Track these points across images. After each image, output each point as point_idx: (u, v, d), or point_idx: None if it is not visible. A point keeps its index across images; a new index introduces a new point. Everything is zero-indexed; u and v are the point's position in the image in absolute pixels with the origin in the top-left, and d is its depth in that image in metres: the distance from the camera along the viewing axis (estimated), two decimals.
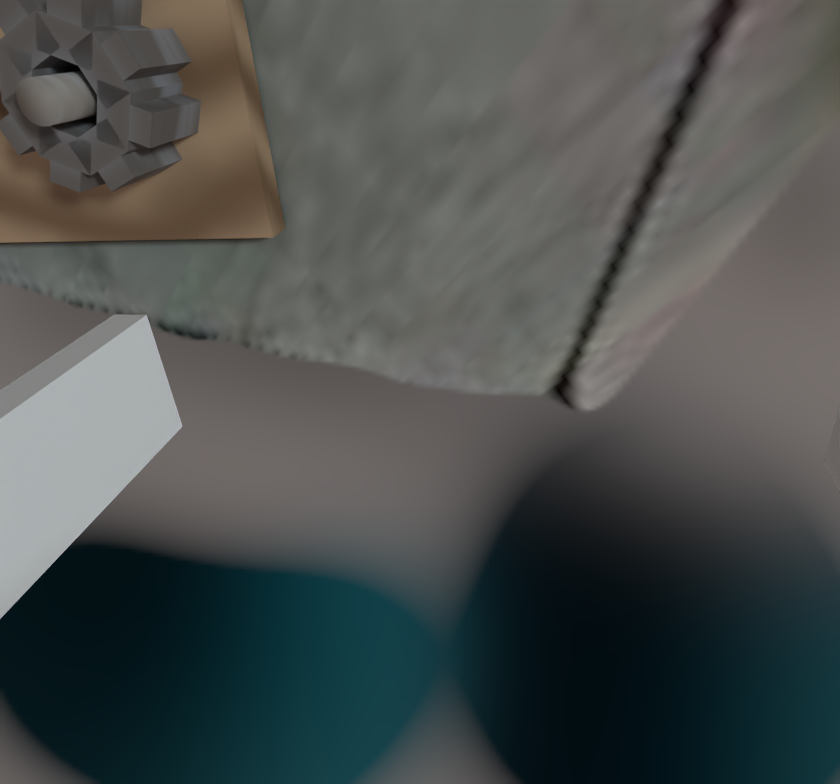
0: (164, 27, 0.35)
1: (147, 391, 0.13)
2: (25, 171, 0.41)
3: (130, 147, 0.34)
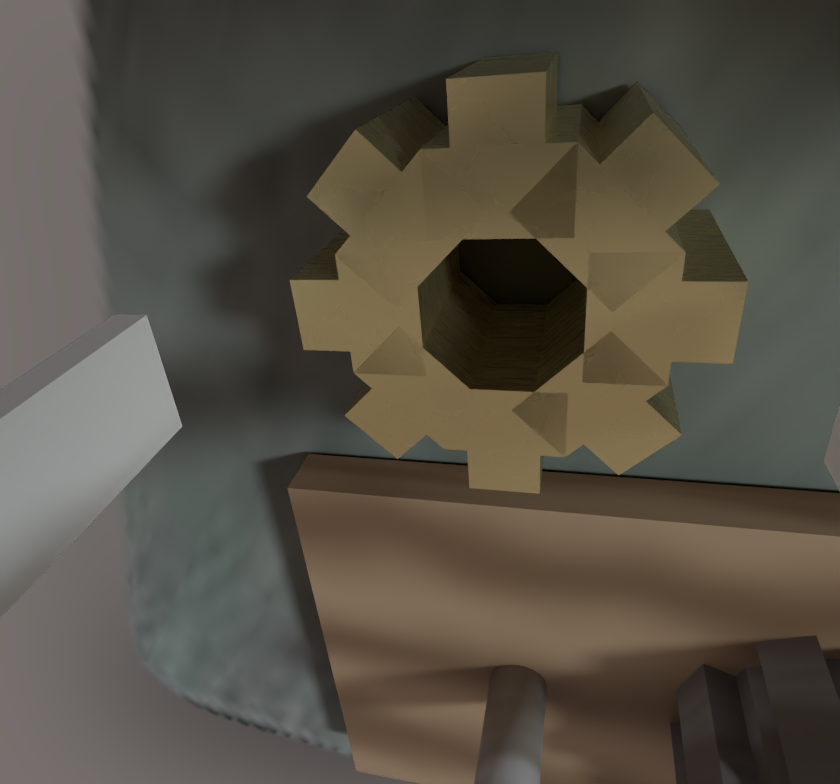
0: None
1: (147, 391, 0.13)
2: (560, 753, 0.27)
3: None
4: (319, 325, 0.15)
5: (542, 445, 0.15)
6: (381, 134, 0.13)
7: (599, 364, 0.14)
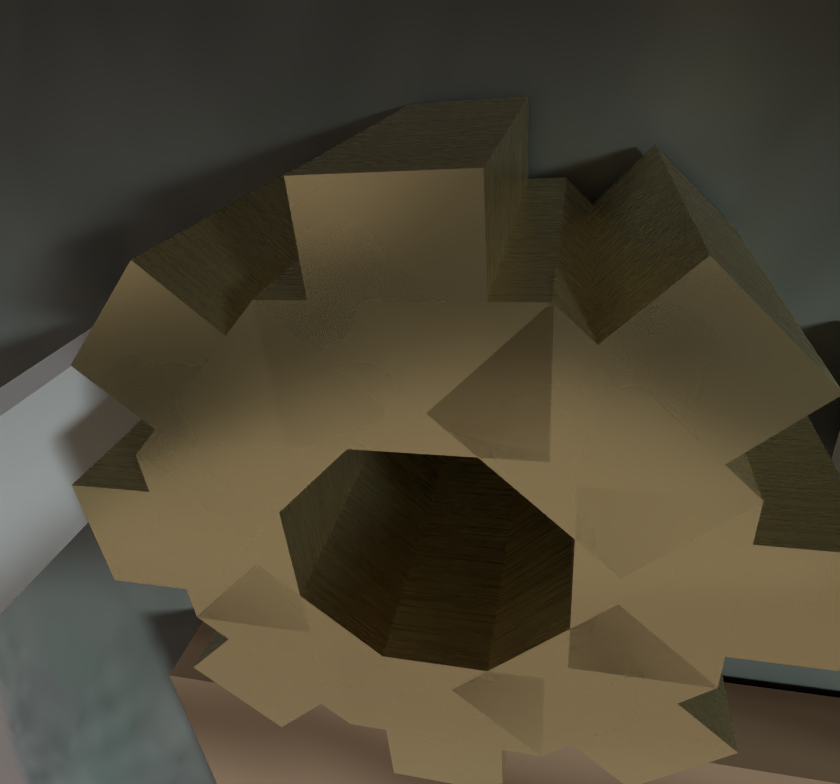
0: None
1: None
2: None
3: None
4: (131, 550, 0.09)
5: (504, 737, 0.09)
6: (200, 256, 0.07)
7: (596, 648, 0.08)
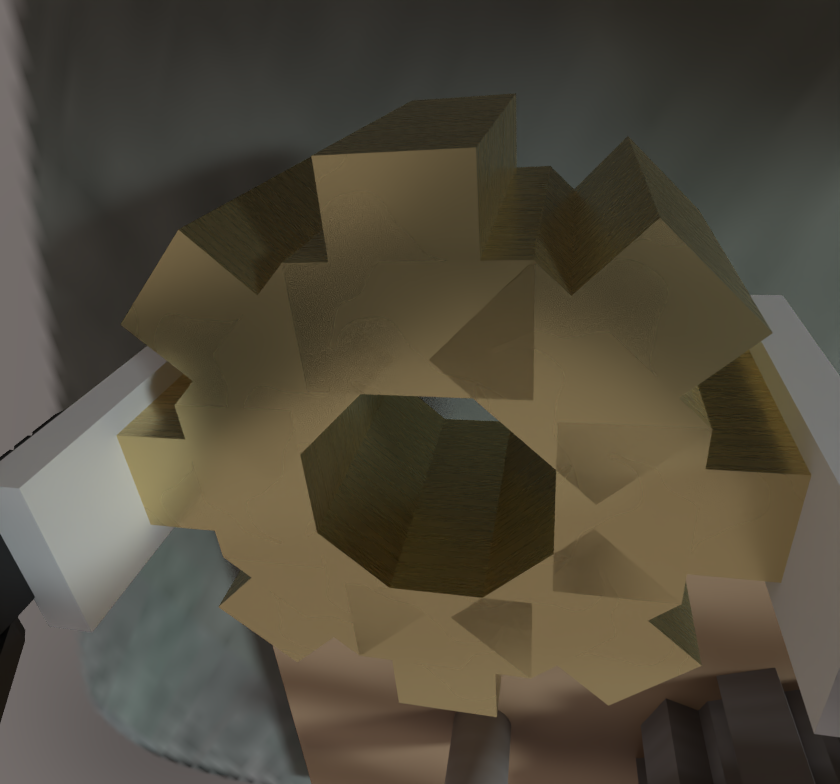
0: None
1: None
2: None
3: None
4: (166, 495, 0.10)
5: (497, 662, 0.11)
6: (233, 229, 0.08)
7: (577, 571, 0.09)
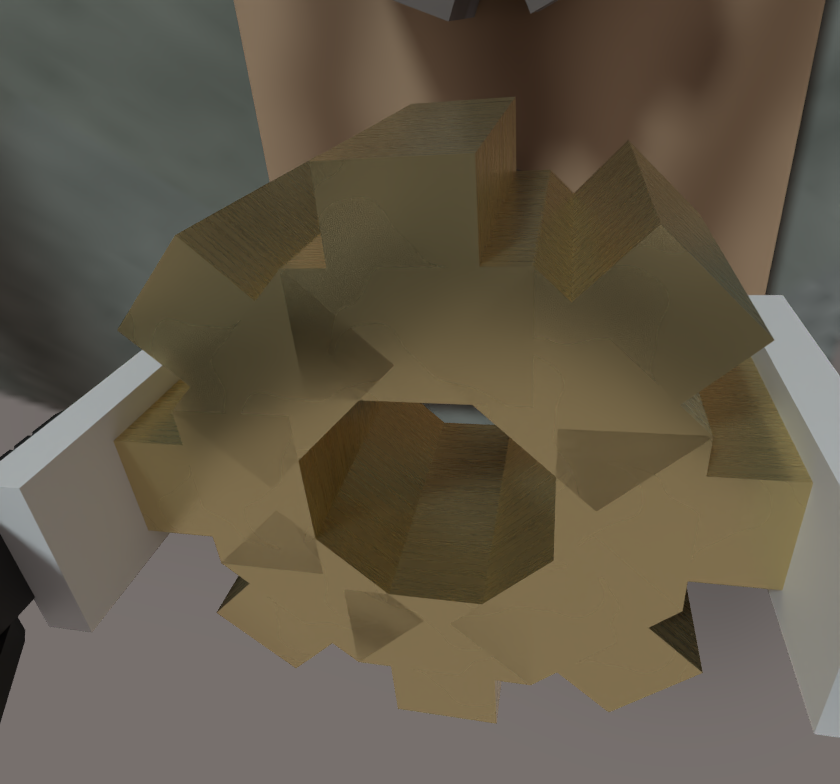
0: None
1: None
2: (642, 142, 0.21)
3: None
4: (164, 501, 0.10)
5: (497, 668, 0.10)
6: (230, 234, 0.08)
7: (577, 577, 0.09)
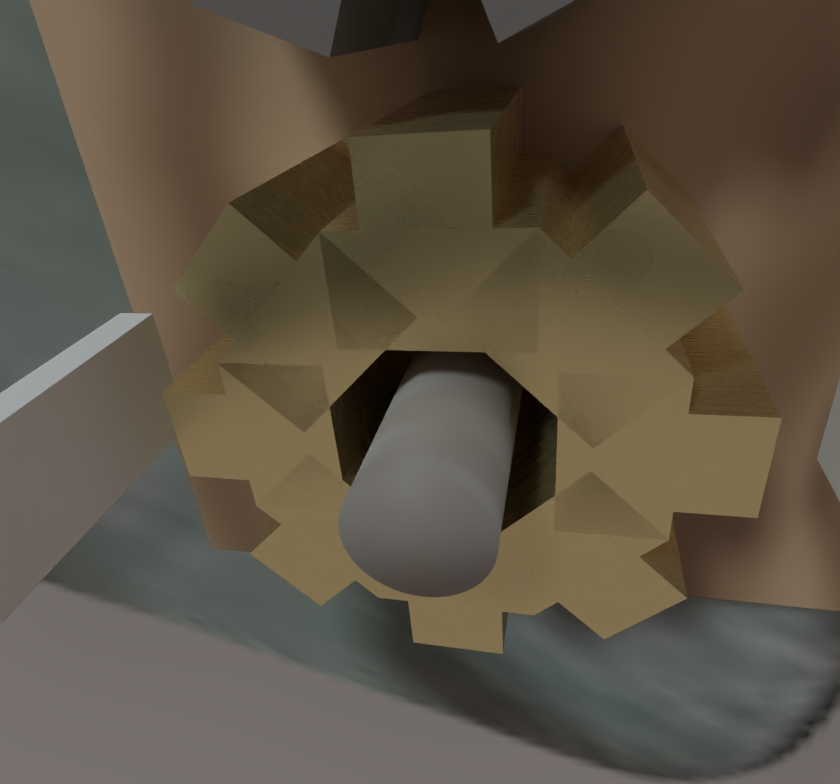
0: None
1: (153, 389, 0.13)
2: None
3: None
4: (206, 448, 0.11)
5: (504, 600, 0.12)
6: (272, 204, 0.10)
7: (576, 511, 0.10)
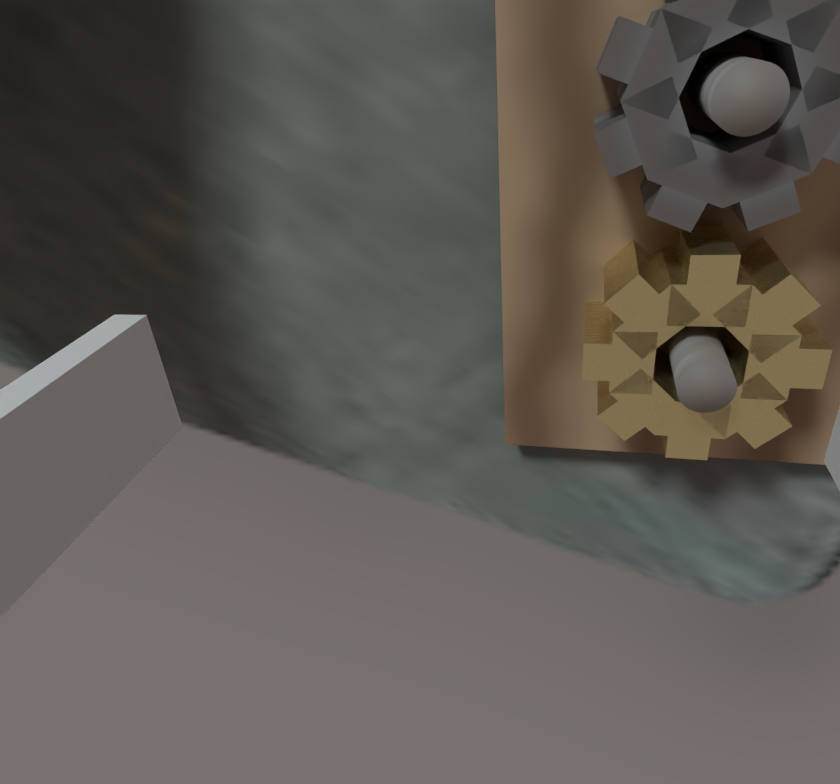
0: None
1: (147, 391, 0.13)
2: None
3: None
4: (594, 367, 0.28)
5: (712, 432, 0.28)
6: (643, 273, 0.26)
7: (750, 389, 0.27)
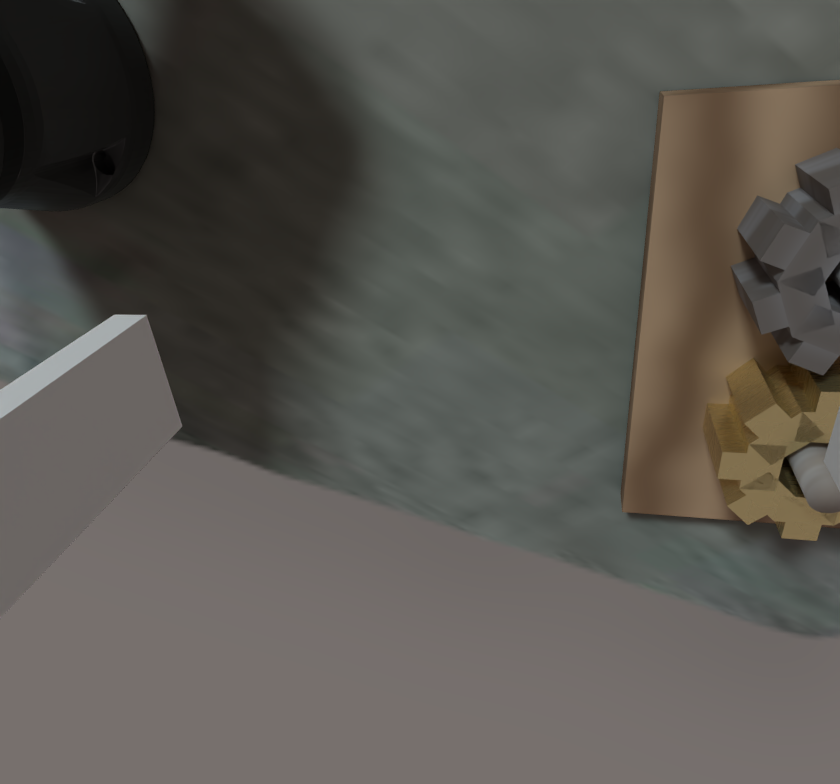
0: (791, 174, 0.31)
1: (147, 391, 0.13)
2: None
3: None
4: (729, 469, 0.34)
5: (823, 520, 0.35)
6: (776, 399, 0.33)
7: None
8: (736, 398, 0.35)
